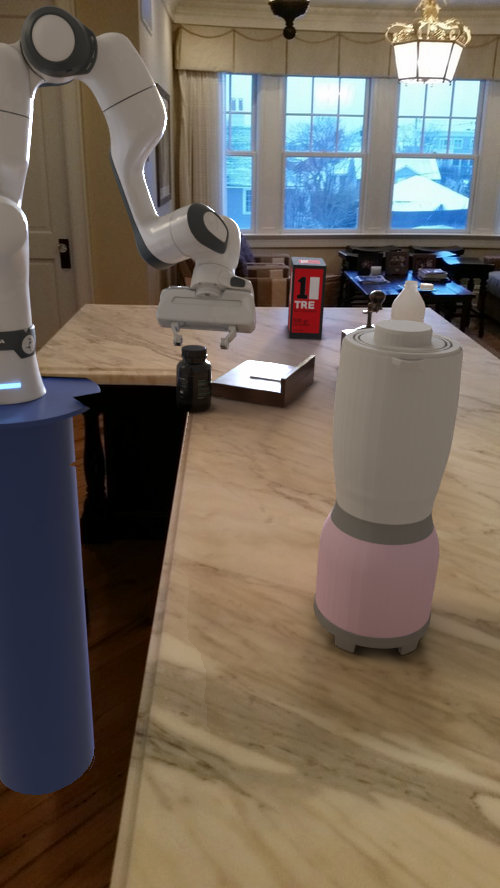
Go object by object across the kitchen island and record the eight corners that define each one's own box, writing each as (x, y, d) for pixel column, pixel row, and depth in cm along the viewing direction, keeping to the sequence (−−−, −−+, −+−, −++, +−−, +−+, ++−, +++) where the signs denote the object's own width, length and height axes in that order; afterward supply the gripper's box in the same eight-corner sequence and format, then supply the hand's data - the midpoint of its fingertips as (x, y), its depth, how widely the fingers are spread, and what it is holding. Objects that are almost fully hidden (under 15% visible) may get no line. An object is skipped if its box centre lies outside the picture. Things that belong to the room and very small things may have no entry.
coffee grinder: (395, 380, 160) (404, 301, 154) (348, 380, 159) (355, 300, 152) (376, 362, 175) (384, 289, 168) (333, 362, 173) (339, 288, 167)
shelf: (211, 396, 145) (211, 368, 143) (247, 372, 163) (248, 346, 160) (284, 407, 140) (285, 378, 138) (313, 381, 157) (315, 355, 155)
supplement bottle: (169, 405, 139) (169, 346, 134) (198, 399, 143) (199, 341, 138) (188, 415, 134) (188, 353, 129) (218, 409, 138) (219, 349, 133)
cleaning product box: (287, 325, 210) (291, 256, 203) (317, 326, 210) (322, 257, 203) (289, 338, 195) (293, 264, 188) (321, 339, 195) (326, 265, 188)
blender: (440, 662, 69) (492, 345, 58) (316, 657, 70) (343, 339, 58) (410, 575, 84) (447, 307, 72) (308, 571, 84) (328, 303, 72)
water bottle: (374, 401, 145) (387, 278, 136) (398, 397, 148) (413, 277, 139) (402, 414, 138) (418, 286, 129) (427, 410, 141) (444, 284, 132)
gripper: (159, 276, 143) (146, 334, 138) (258, 281, 140) (249, 341, 135) (165, 294, 149) (153, 350, 143) (261, 300, 146) (252, 358, 140)
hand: (200, 346), depth 139 cm, fingers open, 8 cm apart
